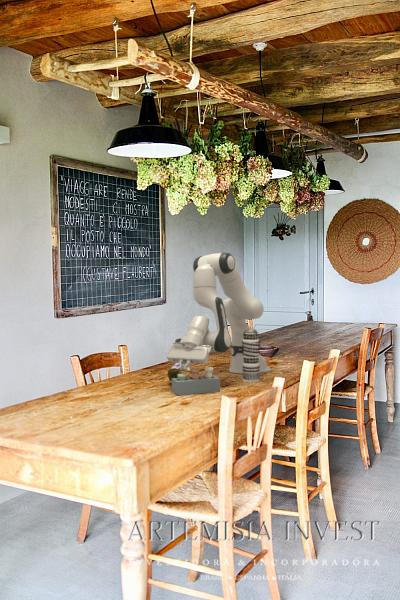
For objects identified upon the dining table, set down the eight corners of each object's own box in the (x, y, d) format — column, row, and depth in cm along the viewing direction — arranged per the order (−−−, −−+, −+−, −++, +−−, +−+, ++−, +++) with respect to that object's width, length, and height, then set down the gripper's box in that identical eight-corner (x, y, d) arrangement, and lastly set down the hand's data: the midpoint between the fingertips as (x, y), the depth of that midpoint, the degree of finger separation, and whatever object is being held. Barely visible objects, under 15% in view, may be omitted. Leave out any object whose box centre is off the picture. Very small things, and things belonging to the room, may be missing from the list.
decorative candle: (259, 382, 298) (259, 331, 297) (240, 381, 300) (240, 330, 298) (261, 378, 307) (261, 328, 306) (243, 378, 309) (242, 328, 307)
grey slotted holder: (212, 387, 288) (212, 374, 287) (219, 391, 279) (219, 378, 279) (171, 391, 281) (171, 378, 280) (178, 395, 272) (178, 382, 272)
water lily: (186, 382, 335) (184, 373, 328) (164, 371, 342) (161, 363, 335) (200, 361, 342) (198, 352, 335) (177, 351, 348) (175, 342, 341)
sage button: (184, 388, 280) (184, 373, 280) (187, 390, 276) (187, 374, 276) (176, 389, 279) (176, 374, 278) (179, 391, 275) (179, 375, 274)
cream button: (211, 381, 285) (211, 366, 284) (214, 383, 281) (214, 368, 280) (203, 382, 283) (203, 367, 283) (206, 384, 279) (206, 369, 279)
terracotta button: (198, 383, 282) (198, 368, 282) (201, 384, 279) (201, 369, 278) (190, 383, 281) (189, 368, 280) (193, 385, 277) (192, 370, 277)
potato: (191, 382, 302) (191, 365, 301) (176, 386, 291) (176, 370, 290) (177, 380, 306) (177, 364, 305) (162, 385, 295) (161, 368, 295)
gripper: (214, 349, 282) (205, 374, 275) (175, 347, 292) (165, 371, 284) (210, 341, 278) (201, 366, 270) (170, 339, 287) (160, 364, 279)
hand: (182, 369), depth 277 cm, fingers closed
